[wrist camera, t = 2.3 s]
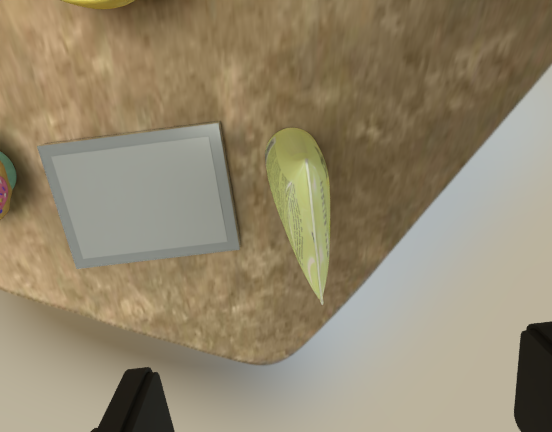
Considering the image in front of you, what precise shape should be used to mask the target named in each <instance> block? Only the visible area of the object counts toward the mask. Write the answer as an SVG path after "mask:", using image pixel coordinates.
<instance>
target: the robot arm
mask: <svg viewBox="0 0 552 432" xmlns="http://www.w3.org/2000/svg"><path fill="white" fill-rule="evenodd" d="M514 417H515V421H516V423H517V426H518V427H519V429H520V431H521V432H552V322H544V323H534V324H529V325H528V326H527V330H526V331H522V333H521V338H520V349H519V361H518V372H517V384H516V395H515V406H514ZM91 432H174V428H173V424H172V420H171V417H170V413H169V409H168V406H167V402H166V398H165V395H164V391H163V387H162V383H161V380H160V376H159V374H158V373H157V372H154V373H153V372H152V370H151V368H149V367H145V368H137V369H128V370H127V371H125V373H124V375H123V377H122V379H121V381H120V383H119V385H118V388H117V389H116V391H115V394H114V396H113V398H112V400H111V402H110V404H109V406H108V408H107V410H106V412H105V414H104V416H103V418H102V420H101V422H100V424H99V426H98V428H94V429H93V430H92V431H91Z"/></svg>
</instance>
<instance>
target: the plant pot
mask: <svg viewBox="0 0 552 432" xmlns="http://www.w3.org/2000/svg"><path fill="white" fill-rule="evenodd" d="M61 1H64V2H67V3H70V4H74V5H77V6H82V7H87V8H93V9H112V8H118V7H121V6H125V5H127V4H130V3H132V2H133V1H135V0H61Z"/></svg>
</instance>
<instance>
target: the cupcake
mask: <svg viewBox="0 0 552 432" xmlns="http://www.w3.org/2000/svg"><path fill="white" fill-rule="evenodd" d="M16 177H17V176H16V170H15V168H14V165H13V164H12V162H11V161H10V159H9V158H8V157H7V156H6V155H5V154H3V153H2V152H0V220H1V219H2V218H3V217H4V216H5V215H6V214H7V212H8V211H9V208H10V198H11V195H12V190H13V188H14V186H15V184H16Z"/></svg>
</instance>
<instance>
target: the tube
mask: <svg viewBox="0 0 552 432" xmlns="http://www.w3.org/2000/svg"><path fill="white" fill-rule="evenodd" d="M265 162H266V169H267V175H268V180H269V184H270V188H271V192H272V195H273V198H274V202H275V204H276V207H277V210H278V213H279V216H280V218H281V221H282V223H283V226H284V228H285V231H286V233H287V236H288V238H289V241H290V243H291V246H292V248H293V251H294V253H295V255H296V258H297V260H298V262H299V264H300V266H301V268H302V270H303V272H304V274H305V276H306V278H307V280H308V282H309V284H310V286H311V287H312V289H313V291H314V292H315V294H316V295H317V297H318V298H319V299H320V303H321V304H322V305H323V304H324V302H323V293H324V289H325V284H326V278H327V273H328V265H329V252H330V188H329V176H328V171H327V167H326V163H325V160H324V157H323V155H322V153H321V151H320V149H319V147H318V145H317V143H316V141H315V140H314V138H313V137H312V136H311V135H310V134H309V133H308V132H306V131H304V130H302V129H299V128H286V129H283V130H281V131H279V132H277V133H276V134H274V135H273V137H272V138H271V139H270V140H269V142H268V144H267V147H266V151H265Z"/></svg>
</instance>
